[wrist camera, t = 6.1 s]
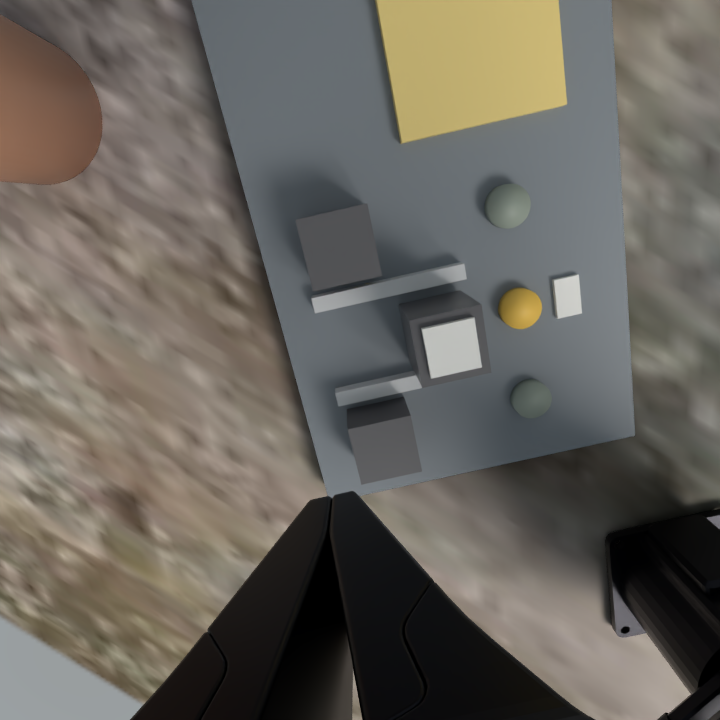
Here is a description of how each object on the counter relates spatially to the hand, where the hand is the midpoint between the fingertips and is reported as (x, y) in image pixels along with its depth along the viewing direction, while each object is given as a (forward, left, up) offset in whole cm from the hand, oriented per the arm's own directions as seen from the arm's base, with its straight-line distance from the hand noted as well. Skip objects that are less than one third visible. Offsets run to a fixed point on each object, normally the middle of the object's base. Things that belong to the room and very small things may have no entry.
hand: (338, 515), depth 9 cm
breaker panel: (+3, -5, -13) cm, 14 cm away
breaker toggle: (0, -4, -11) cm, 12 cm away
